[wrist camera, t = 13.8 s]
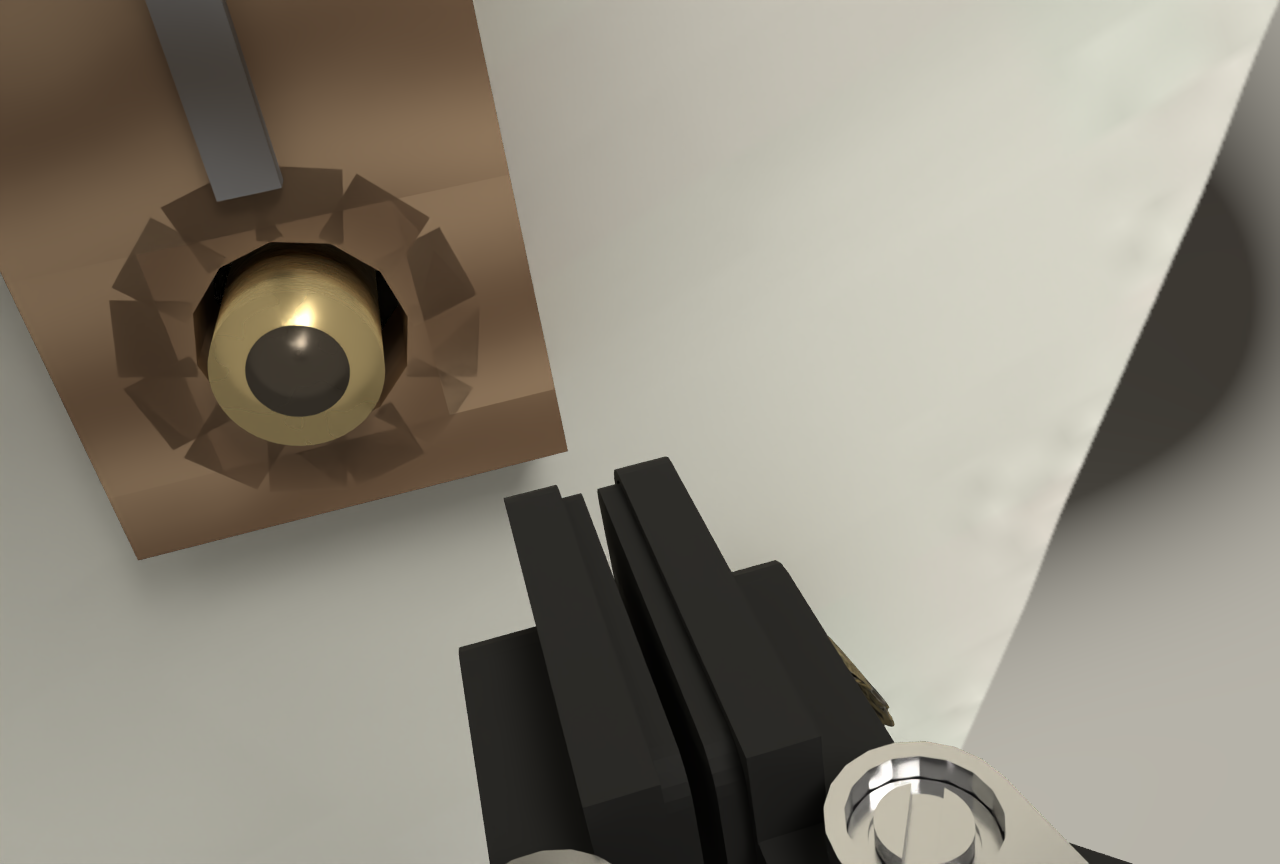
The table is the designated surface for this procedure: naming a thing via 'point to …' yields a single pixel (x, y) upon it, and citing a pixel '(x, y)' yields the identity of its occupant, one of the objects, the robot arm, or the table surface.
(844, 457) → the table surface
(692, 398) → the table surface
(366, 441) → the jig
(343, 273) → the cylinder
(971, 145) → the table surface
